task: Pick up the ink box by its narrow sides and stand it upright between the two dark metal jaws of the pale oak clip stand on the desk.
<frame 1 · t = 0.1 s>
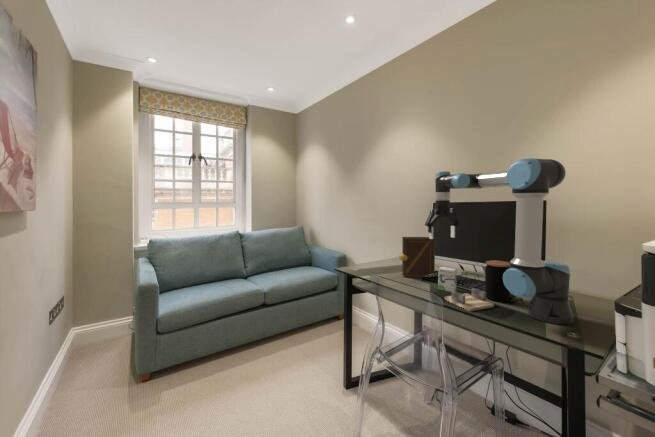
hand: (442, 238, 160), 28 cm above the table, tool pointing down, fingers open, 13 cm apart
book: (416, 276, 185), on the table
ink box: (447, 290, 157), on the table
clip stand: (468, 303, 136), on the table
coffee jar: (497, 298, 142), on the table
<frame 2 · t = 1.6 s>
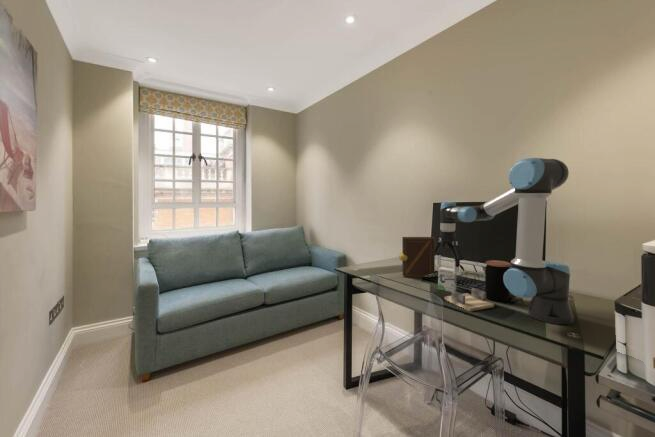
hand: (446, 269, 156), 11 cm above the table, tool pointing down, fingers open, 13 cm apart
nothing on the table moved.
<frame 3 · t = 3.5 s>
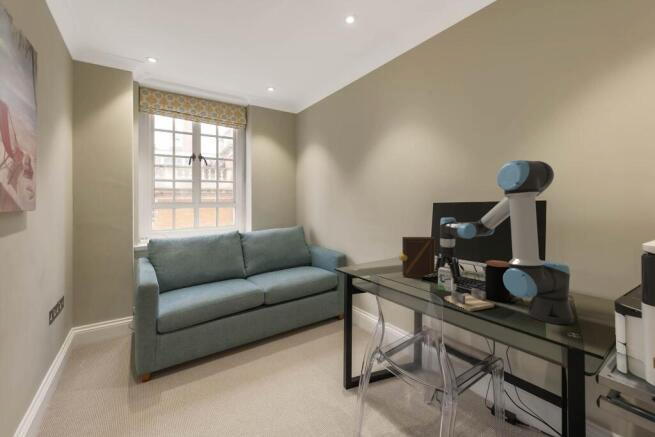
hand: (447, 286, 157), 2 cm above the table, tool pointing down, fingers closed on ink box, 9 cm apart
ink box: (447, 290, 157), on the table, touching gripper
everything else where it was.
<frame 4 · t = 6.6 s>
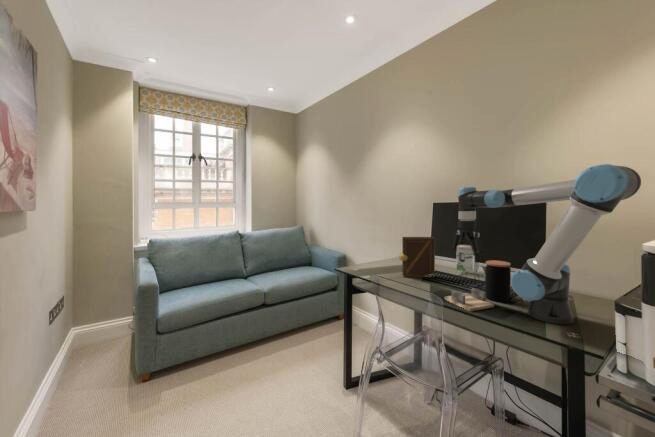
hand: (467, 266, 137), 17 cm above the table, tool pointing down, fingers closed on ink box, 9 cm apart
ink box: (467, 270, 137), point 15 cm above the table, touching gripper
everything else where it was.
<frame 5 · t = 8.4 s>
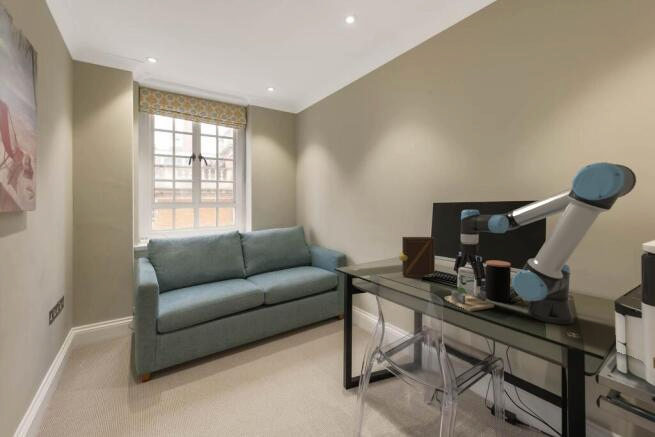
hand: (468, 289, 136), 7 cm above the table, tool pointing down, fingers closed on ink box, 9 cm apart
ink box: (468, 293, 136), point 5 cm above the table, touching gripper
everything else where it was.
when the fingers open (4 cm above the table, at t = 9.7 s): ink box stays where it is, resting on clip stand.
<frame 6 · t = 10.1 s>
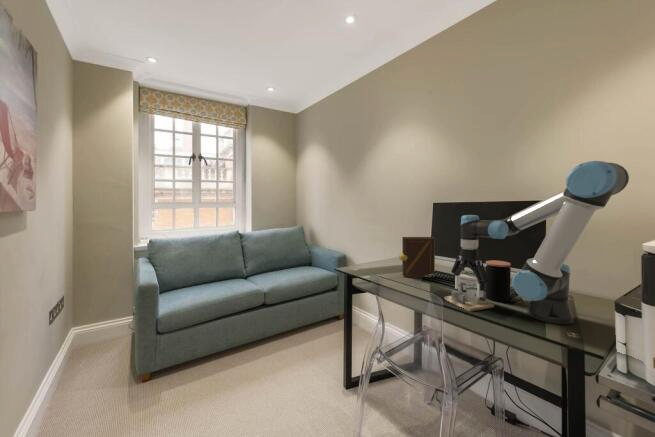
hand: (468, 292, 136), 5 cm above the table, tool pointing down, fingers open, 13 cm apart
ink box: (468, 300, 136), point 1 cm above the table, touching clip stand
everything else where it was.
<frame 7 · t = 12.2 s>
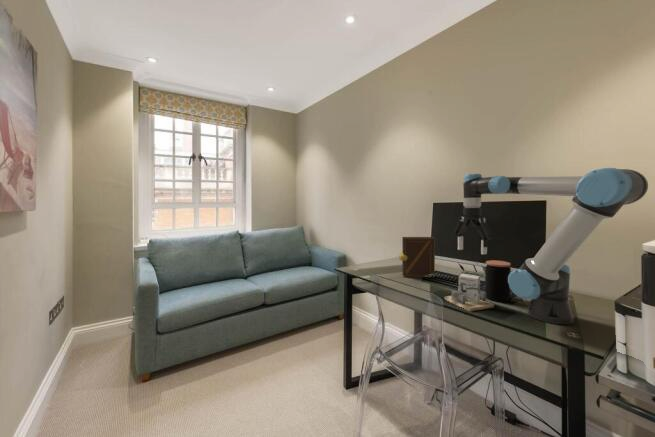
hand: (471, 251, 137), 24 cm above the table, tool pointing down, fingers open, 13 cm apart
nothing on the table moved.
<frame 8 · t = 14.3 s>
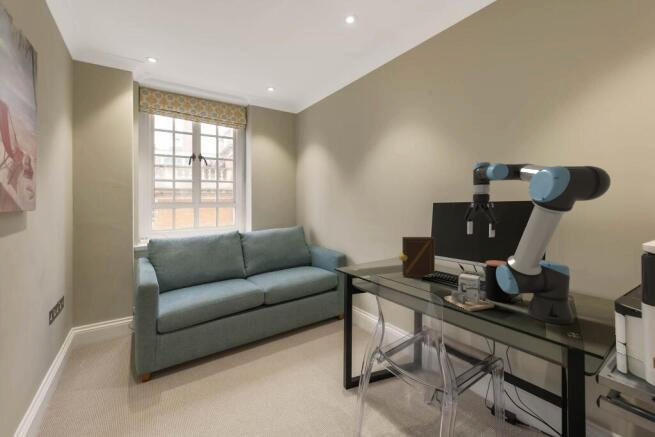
hand: (480, 235, 146), 31 cm above the table, tool pointing down, fingers open, 13 cm apart
nothing on the table moved.
at the end: ink box 0.2 cm off-centre on the clip stand, point 1.3 cm above the clip stand's base; ink box tilted 0°; the gripper is holding nothing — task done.
